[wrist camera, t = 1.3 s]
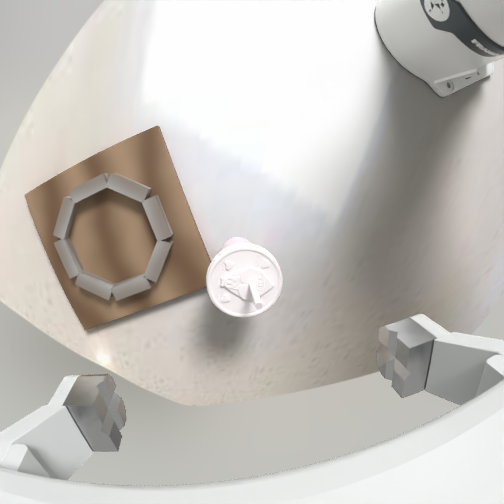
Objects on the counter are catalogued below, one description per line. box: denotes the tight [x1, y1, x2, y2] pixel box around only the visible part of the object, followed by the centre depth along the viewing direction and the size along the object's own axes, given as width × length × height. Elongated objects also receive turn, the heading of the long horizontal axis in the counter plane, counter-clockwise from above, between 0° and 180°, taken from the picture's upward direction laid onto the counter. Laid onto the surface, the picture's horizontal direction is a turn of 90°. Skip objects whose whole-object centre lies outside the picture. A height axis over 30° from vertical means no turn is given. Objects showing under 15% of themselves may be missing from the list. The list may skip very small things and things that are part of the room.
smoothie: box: [206, 237, 283, 318], centre depth 29 cm, size 6×6×14 cm
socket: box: [25, 126, 211, 330], centre depth 32 cm, size 18×18×3 cm
